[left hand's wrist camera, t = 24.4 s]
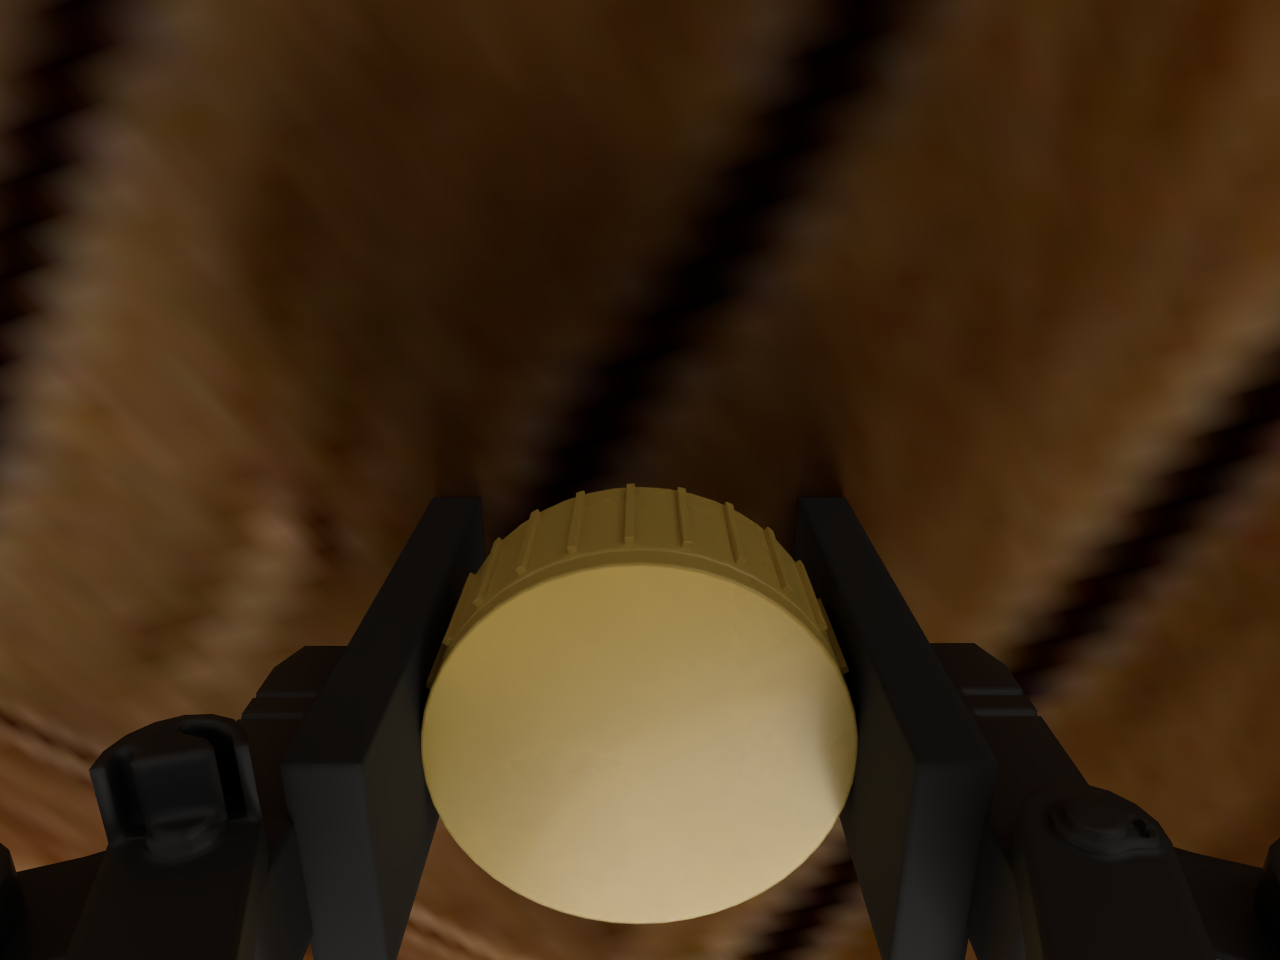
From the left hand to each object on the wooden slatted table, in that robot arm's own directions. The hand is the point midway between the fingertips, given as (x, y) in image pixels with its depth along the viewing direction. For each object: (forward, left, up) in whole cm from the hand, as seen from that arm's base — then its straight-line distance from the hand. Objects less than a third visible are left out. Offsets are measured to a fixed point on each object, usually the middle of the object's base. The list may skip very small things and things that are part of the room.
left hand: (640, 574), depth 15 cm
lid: (0, 0, +4) cm, 4 cm away
